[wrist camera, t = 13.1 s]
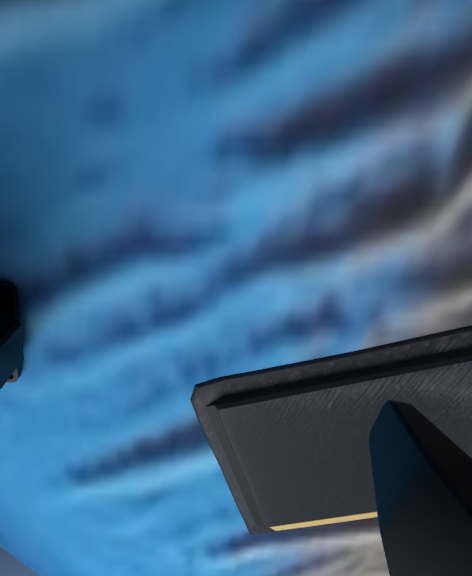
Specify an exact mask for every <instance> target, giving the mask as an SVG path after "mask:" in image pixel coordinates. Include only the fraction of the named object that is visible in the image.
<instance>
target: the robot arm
mask: <svg viewBox="0 0 472 576" xmlns="http://www.w3.org/2000/svg"><path fill="white" fill-rule="evenodd" d="M3 289H5V290H7V291H8V293H9V294H7V293H5V292H4V291H3ZM23 359H24V357H23V334H22V324H21V322H20V321H19V314H18V293H17V288H16V287H15V285H14V284H13V283H11V282H9V281H5V280H0V389H1V388H2V387H3V385H4V384H5V383H6V382H16V381H17V380H18V378H19V377H20V376H21V362H22V361H23ZM12 374H13V375H12ZM369 449H370V458H371V466H372V475H373V483H374V491H375V500H376V508H377V515H378V522H379V528H380V533H381V538H382V543H383V547H384V552H385V556H386V560H387V565H388V569H389V574H390V576H472V458H471V457H469V456H468V455H467V454H466V453H465V452H464V451H463V450H462V449H461V448H459V447H458V446H457V445H456V444H455V443H454V442H453V441H452V440H451V439H449V438H448V437H447V436H446V435H445V434H444V433H443V432H442V431H441V430H439V429H438V428H437V427H436V426H435V425H434V424H433V423H432V422H431V421H429V420H428V419H427V418H426V417H425V416H424V415H423V414H422V413H421V412H419V411H418V410H417V409H416V408H415V407H414V406H413V405H412V404H410V403H407V402H402V401H396V400H387V401H386V402H385V403H384V404H383V406H382V408H381V410H380V412H379V414H378V416H377V418H376V420H375V422H374V424H373V426H372V428H371V430H370V434H369Z"/></svg>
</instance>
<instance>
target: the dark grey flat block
mask: <svg viewBox="0 0 472 576" xmlns="http://www.w3.org/2000/svg"><path fill="white" fill-rule="evenodd" d="M387 400H396V401H402V402H407V403H410V404H412V405H413V406H414V407H415V408H416V409H417V410H418V411H419V412H421V413H422V414H423V415H424V416H425V417H426V418H427V419H428V420H429V421H431V422H432V423H433V424H434V425H435V426H436V427H437V428H438V429H439V430H441V431H442V432H443V433H444V434H445V435H446V436H447V437H448V438H449V439H451V440H452V441H453V442H454V443H455V444H456V445H457V446H458V447H459V448H461V449H462V450H463V451H464V452H465V453H466V454H467V455H468V456H469V457H471V458H472V326H469V327H464V328H459V329H455V330H450V331H445V332H441V333H436V334H432V335H427V336H423V337H418V338H414V339H409V340H405V341H400V342H396V343H391V344H386V345H382V346H377V347H373V348H368V349H364V350H359V351H355V352H350V353H345V354H340V355H335V356H329V357H324V358H319V359H314V360H309V361H304V362H299V363H294V364H288V365H283V366H278V367H273V368H268V369H263V370H258V371H252V372H246V373H241V374H235V375H230V376H224V377H220V378H216V379H213V380H210V381H206V382H203V383H200V384H196V385H195V387H194V390H193V393H192V396H191V403H192V405H193V408H194V411H195V413H196V416H197V418H198V421H199V423H200V425H201V428H202V430H203V432H204V434H205V436H206V438H207V440H208V442H209V445H210V447H211V449H212V451H213V453H214V455H215V457H216V459H217V461H218V464H219V466H220V468H221V470H222V472H223V475H224V477H225V479H226V482H227V484H228V486H229V489H230V491H231V493H232V496H233V498H234V500H235V503H236V505H237V507H238V509H239V511H240V513H241V516H242V518H243V520H244V522H245V524H246V526H247V529H248V531H249V533H250V534H260V533H269V532H278V531H284V530H290V529H296V528H302V527H308V526H315V525H322V524H330V523H337V522H344V521H351V520H358V519H365V518H373V517H378V515H377V508H376V500H375V491H374V483H373V475H372V466H371V458H370V449H369V434H370V430H371V428H372V426H373V424H374V422H375V420H376V418H377V416H378V414H379V412H380V410H381V408H382V406H383V404H384V403H385V402H386V401H387Z"/></svg>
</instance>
